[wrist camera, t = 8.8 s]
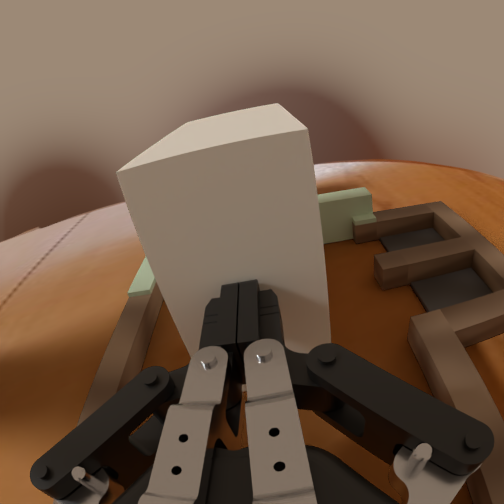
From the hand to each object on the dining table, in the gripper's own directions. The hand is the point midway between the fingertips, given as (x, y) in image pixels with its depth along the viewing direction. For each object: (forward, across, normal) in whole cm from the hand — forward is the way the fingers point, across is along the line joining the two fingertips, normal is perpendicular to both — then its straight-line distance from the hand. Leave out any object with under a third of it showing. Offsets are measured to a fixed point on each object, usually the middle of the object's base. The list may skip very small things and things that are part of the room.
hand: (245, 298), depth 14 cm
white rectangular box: (+7, 0, -7) cm, 10 cm away
